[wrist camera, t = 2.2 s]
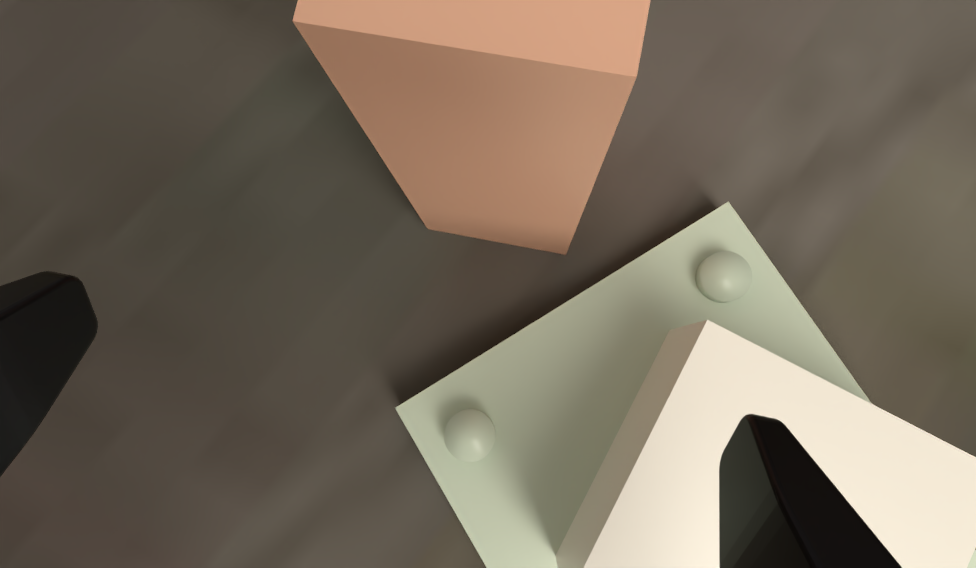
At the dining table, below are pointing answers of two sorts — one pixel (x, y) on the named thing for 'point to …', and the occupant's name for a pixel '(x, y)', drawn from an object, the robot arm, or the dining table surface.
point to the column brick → (485, 102)
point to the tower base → (589, 380)
